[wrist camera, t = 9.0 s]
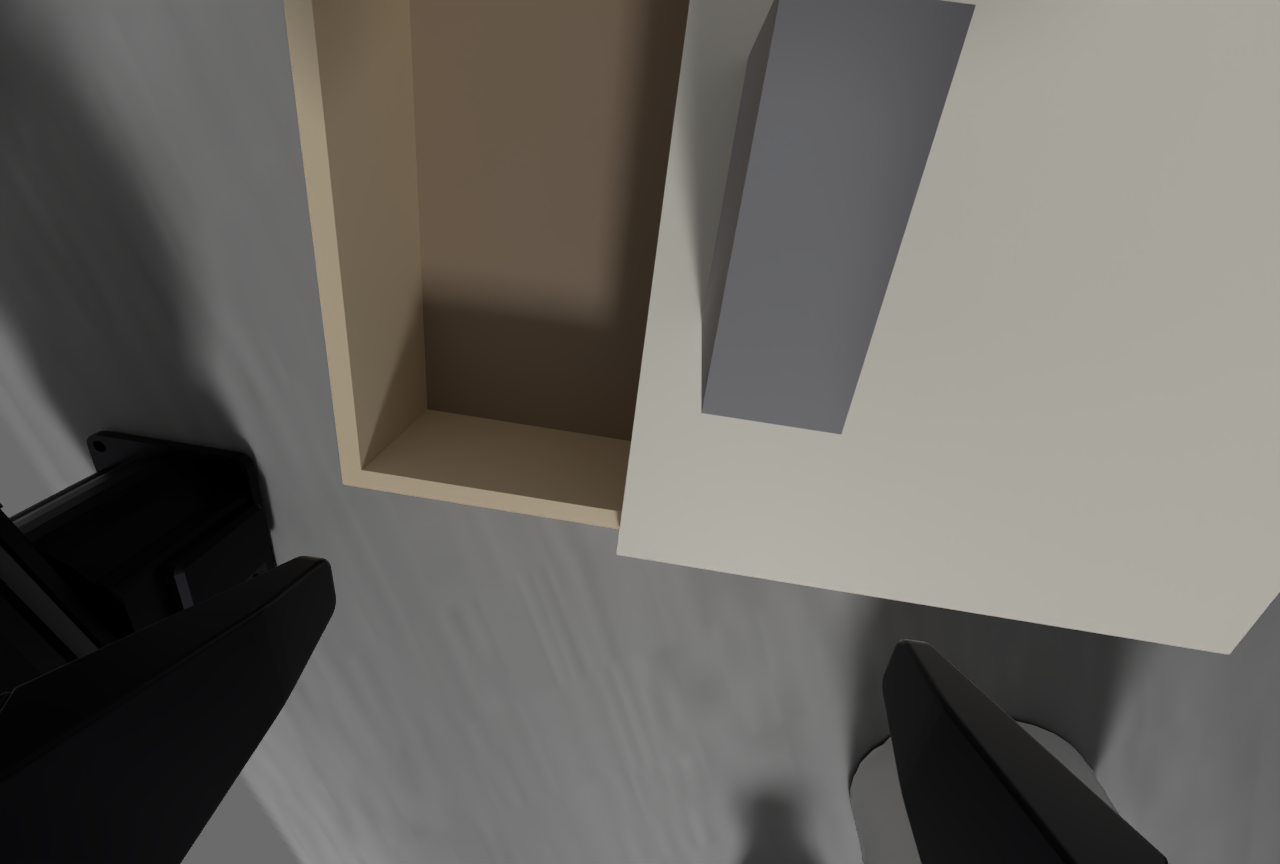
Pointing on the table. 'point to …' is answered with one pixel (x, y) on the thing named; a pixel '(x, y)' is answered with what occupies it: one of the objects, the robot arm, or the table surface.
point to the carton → (487, 237)
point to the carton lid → (973, 310)
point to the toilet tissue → (884, 811)
